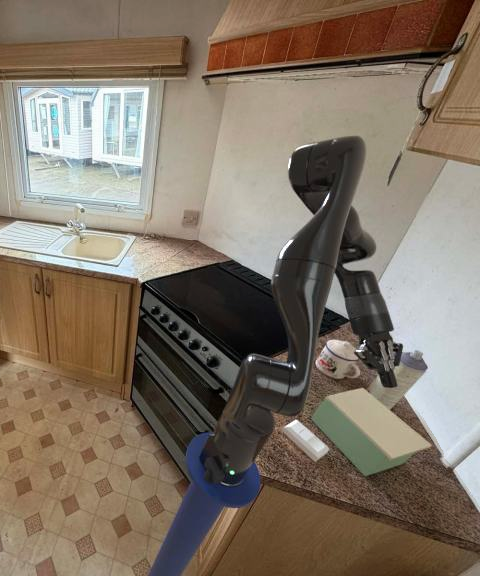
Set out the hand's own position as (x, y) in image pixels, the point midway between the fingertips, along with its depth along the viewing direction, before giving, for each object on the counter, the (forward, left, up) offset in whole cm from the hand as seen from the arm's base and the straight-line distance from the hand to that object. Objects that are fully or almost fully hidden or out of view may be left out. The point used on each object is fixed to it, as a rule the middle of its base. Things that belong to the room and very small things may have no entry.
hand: (390, 387), depth 71 cm
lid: (0, -2, -10) cm, 10 cm away
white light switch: (-14, +1, -19) cm, 24 cm away
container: (0, -1, -19) cm, 19 cm away
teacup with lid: (+16, +19, -19) cm, 31 cm away
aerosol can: (+19, +7, -19) cm, 28 cm away
